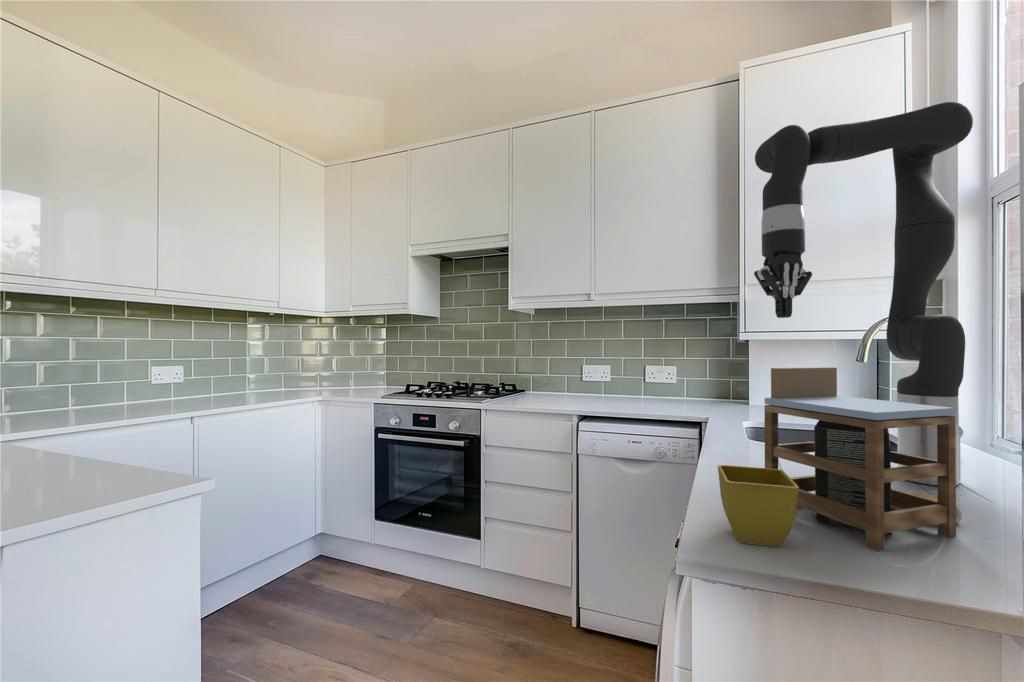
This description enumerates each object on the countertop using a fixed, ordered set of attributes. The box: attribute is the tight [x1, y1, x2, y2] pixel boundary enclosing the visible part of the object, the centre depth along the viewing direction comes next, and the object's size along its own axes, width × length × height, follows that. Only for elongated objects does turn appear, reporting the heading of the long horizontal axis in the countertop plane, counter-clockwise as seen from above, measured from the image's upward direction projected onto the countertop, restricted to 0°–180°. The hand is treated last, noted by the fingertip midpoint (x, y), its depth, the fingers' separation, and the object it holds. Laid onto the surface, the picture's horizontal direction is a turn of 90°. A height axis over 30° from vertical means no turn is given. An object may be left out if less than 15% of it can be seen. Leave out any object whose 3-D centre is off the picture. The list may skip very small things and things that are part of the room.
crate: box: [764, 404, 957, 552], centre depth 71 cm, size 16×18×17 cm
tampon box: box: [813, 420, 893, 537], centre depth 71 cm, size 11×9×15 cm
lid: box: [764, 366, 955, 420], centre depth 71 cm, size 16×18×6 cm
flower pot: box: [717, 464, 799, 548], centre depth 64 cm, size 9×9×9 cm
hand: (784, 317), depth 92 cm, fingers closed
